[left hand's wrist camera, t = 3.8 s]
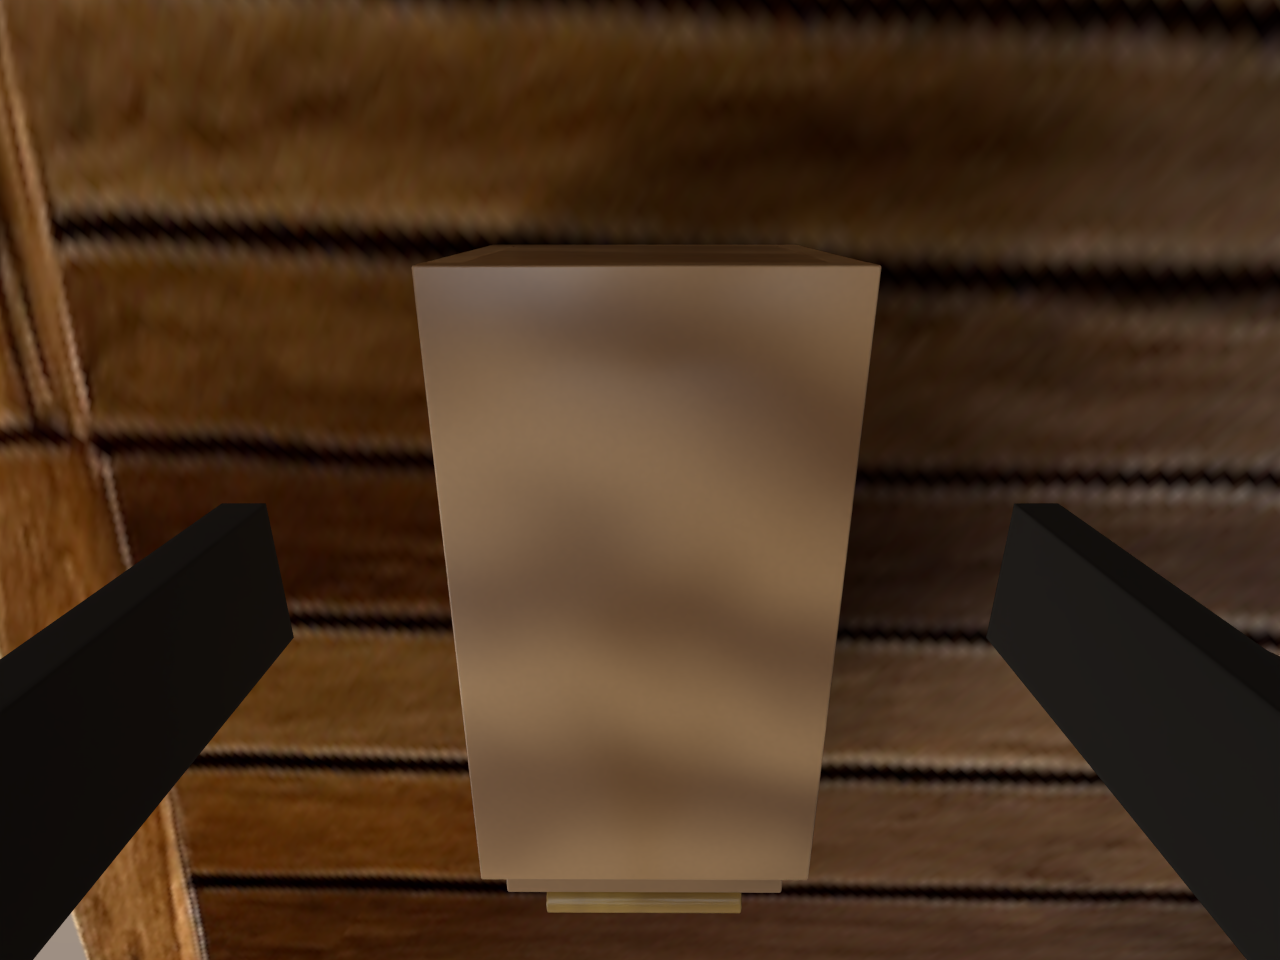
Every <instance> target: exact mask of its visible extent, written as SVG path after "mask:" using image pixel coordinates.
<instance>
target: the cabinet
mask: <svg viewBox="0 0 1280 960" xmlns="http://www.w3.org/2000/svg"><path fill="white" fill-rule="evenodd" d="M880 274H881V266H880V265H877V264H873V263H869V262H863V261H859V260H855V259H851V258H847V257H843V256H839V255H835V254H831V253H827V252H823V251H819V250H815V249H811V248H807V247H803V246H800V245H491V246H487V247H483V248H480V249H476V250H472V251H468V252H464V253H460V254H456V255H452V256H449V257H445V258H441V259H437V260H433V261H429V262H424V263H420V264H416V265H413V266H412V275H413V284H414V293H415V301H416V310H417V319H418V328H419V336H420V345H421V354H422V363H423V371H424V380H425V389H426V398H427V406H428V415H429V424H430V433H431V441H432V450H433V459H434V468H435V476H436V485H437V494H438V503H439V511H440V520H441V529H442V538H443V546H444V555H445V564H446V573H447V581H448V590H449V599H450V608H451V616H452V625H453V634H454V643H455V651H456V660H457V669H458V678H459V686H460V695H461V704H462V713H463V721H464V730H465V739H466V748H467V756H468V765H469V774H470V783H471V791H472V800H473V809H474V818H475V826H476V835H477V844H478V853H479V861H480V870H481V878H482V879H621V880H808V874H809V865H810V857H811V849H812V840H813V832H814V824H815V815H816V807H817V799H818V790H819V782H820V774H821V766H822V757H823V749H824V741H825V732H826V724H827V716H828V707H829V699H830V691H831V682H832V674H833V666H834V657H835V649H836V641H837V632H838V624H839V616H840V607H841V599H842V591H843V582H844V574H845V566H846V557H847V549H848V541H849V532H850V524H851V516H852V507H853V499H854V491H855V482H856V474H857V466H858V457H859V449H860V441H861V432H862V424H863V416H864V407H865V399H866V391H867V383H868V374H869V366H870V358H871V349H872V341H873V333H874V324H875V316H876V308H877V299H878V291H879V283H880Z"/></svg>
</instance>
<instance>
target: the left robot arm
mask: <svg viewBox="0 0 1280 960" xmlns="http://www.w3.org/2000/svg"><path fill="white" fill-rule="evenodd" d="M293 638H294V637H293V632H292V627H291V622H290V617H289V613H288V608H287V603H286V598H285V594H284V589H283V584H282V579H281V574H280V570H279V565H278V560H277V555H276V551H275V546H274V541H273V536H272V531H271V527H270V522H269V517H268V512H267V508H266V504H221V505H219V506H218V507H216V508H215V509H213V510H212V511H211V512H209V513H208V514H206V515H205V516H204V517H202V518H201V519H199V520H198V521H196V522H195V523H194V524H192V525H191V526H189V527H188V528H186V529H185V530H184V531H182V532H181V533H179V534H178V535H177V536H175V537H174V538H172V539H171V540H169V541H168V542H167V543H165V544H164V545H162V546H161V547H159V548H158V549H157V550H155V551H154V552H152V553H151V554H150V555H148V556H147V557H145V558H144V559H142V560H141V561H140V562H138V563H137V564H135V565H134V566H132V567H131V568H130V569H128V570H127V571H125V572H124V573H123V574H121V575H120V576H118V577H117V578H115V579H114V580H113V581H111V582H110V583H108V584H107V585H105V586H104V587H103V588H101V589H100V590H98V591H97V592H96V593H94V594H93V595H91V596H90V597H88V598H87V599H86V600H84V601H83V602H81V603H80V604H78V605H77V606H76V607H74V608H73V609H71V610H70V611H69V612H67V613H66V614H64V615H63V616H61V617H60V618H59V619H57V620H56V621H54V622H53V623H51V624H50V625H49V626H47V627H46V628H44V629H43V630H42V631H40V632H39V633H37V634H36V635H34V636H33V637H32V638H30V639H29V640H27V641H26V642H24V643H23V644H22V645H20V646H19V647H17V648H16V649H14V650H13V651H12V652H10V653H9V654H7V655H6V656H5V657H3V658H2V659H0V960H33V959H34V958H35V957H36V955H37V954H38V953H39V952H40V950H41V949H42V948H43V947H44V945H45V944H46V943H47V942H48V941H49V939H50V938H51V937H52V936H53V934H54V933H55V932H56V931H57V929H58V928H59V927H60V926H61V924H62V923H63V922H64V921H65V919H66V918H67V917H68V916H69V915H70V913H71V912H72V911H73V910H74V908H75V907H76V906H77V905H78V903H79V902H80V901H81V900H82V899H83V897H84V896H85V895H86V894H87V892H88V891H89V890H90V889H91V887H92V886H93V885H94V884H95V882H96V881H97V880H98V879H99V878H100V876H101V875H102V874H103V873H104V871H105V870H106V869H107V868H108V866H109V865H110V864H111V863H112V861H113V860H114V859H115V858H116V856H117V855H118V854H119V853H120V852H121V850H122V849H123V848H124V847H125V845H126V844H127V843H128V842H129V840H130V839H131V838H132V837H133V835H134V834H135V833H136V832H137V831H138V829H139V828H140V827H141V826H142V824H143V823H144V822H145V821H146V819H147V818H148V817H149V816H150V814H151V813H152V812H153V811H154V810H155V808H156V807H157V806H158V805H159V803H160V802H161V801H162V800H163V798H164V797H165V796H166V795H167V793H168V792H169V791H170V790H171V789H172V787H173V786H174V785H175V784H176V782H177V781H178V780H179V779H180V777H181V776H182V775H183V774H184V772H185V771H186V770H187V769H188V768H189V766H190V765H191V764H192V763H193V761H194V760H195V759H196V758H197V756H198V755H199V754H200V753H201V751H202V750H203V749H204V748H205V746H206V745H207V744H208V743H209V742H210V740H211V739H212V738H213V737H214V735H215V734H216V733H217V732H218V730H219V729H220V728H221V727H222V725H223V724H224V723H225V722H226V721H227V719H228V718H229V717H230V716H231V714H232V713H233V712H234V711H235V709H236V708H237V707H238V706H239V704H240V703H241V702H242V701H243V700H244V698H245V697H246V696H247V695H248V693H249V692H250V691H251V690H252V688H253V687H254V686H255V685H256V683H257V682H258V681H259V680H260V679H261V677H262V676H263V675H264V674H265V672H266V671H267V670H268V669H269V667H270V666H271V665H272V664H273V662H274V661H275V660H276V659H277V657H278V656H279V655H280V654H281V653H282V651H283V650H284V649H285V648H286V646H287V645H288V644H289V643H290V641H291V640H292V639H293ZM986 638H987V639H988V640H989V641H990V643H991V644H992V645H993V646H994V648H995V649H996V650H997V651H998V653H999V654H1000V655H1001V656H1002V657H1003V659H1004V660H1005V661H1006V662H1007V664H1008V665H1009V666H1010V667H1011V669H1012V670H1013V671H1014V672H1015V674H1016V675H1017V676H1018V677H1019V679H1020V680H1021V681H1022V682H1023V683H1024V685H1025V686H1026V687H1027V688H1028V690H1029V691H1030V692H1031V693H1032V695H1033V696H1034V697H1035V698H1036V700H1037V701H1038V702H1039V703H1040V704H1041V706H1042V707H1043V708H1044V709H1045V711H1046V712H1047V713H1048V714H1049V716H1050V717H1051V718H1052V719H1053V721H1054V722H1055V723H1056V724H1057V725H1058V727H1059V728H1060V729H1061V730H1062V732H1063V733H1064V734H1065V735H1066V737H1067V738H1068V739H1069V740H1070V742H1071V743H1072V744H1073V745H1074V746H1075V748H1076V749H1077V750H1078V751H1079V753H1080V754H1081V755H1082V756H1083V758H1084V759H1085V760H1086V761H1087V763H1088V764H1089V765H1090V766H1091V768H1092V769H1093V770H1094V771H1095V772H1096V774H1097V775H1098V776H1099V777H1100V779H1101V780H1102V781H1103V782H1104V784H1105V785H1106V786H1107V787H1108V789H1109V790H1110V791H1111V792H1112V793H1113V795H1114V796H1115V797H1116V798H1117V800H1118V801H1119V802H1120V803H1121V805H1122V806H1123V807H1124V808H1125V810H1126V811H1127V812H1128V813H1129V814H1130V816H1131V817H1132V818H1133V819H1134V821H1135V822H1136V823H1137V824H1138V826H1139V827H1140V828H1141V829H1142V831H1143V832H1144V833H1145V834H1146V835H1147V837H1148V838H1149V839H1150V840H1151V842H1152V843H1153V844H1154V845H1155V847H1156V848H1157V849H1158V850H1159V852H1160V853H1161V854H1162V855H1163V857H1164V858H1165V859H1166V860H1167V861H1168V863H1169V864H1170V865H1171V866H1172V868H1173V869H1174V870H1175V871H1176V873H1177V874H1178V875H1179V876H1180V878H1181V879H1182V880H1183V881H1184V882H1185V884H1186V885H1187V886H1188V887H1189V889H1190V890H1191V891H1192V892H1193V894H1194V895H1195V896H1196V897H1197V899H1198V900H1199V901H1200V902H1201V903H1202V905H1203V906H1204V907H1205V908H1206V910H1207V911H1208V912H1209V913H1210V915H1211V916H1212V917H1213V918H1214V920H1215V921H1216V922H1217V923H1218V924H1219V926H1220V927H1221V928H1222V929H1223V931H1224V932H1225V933H1226V934H1227V936H1228V937H1229V938H1230V939H1231V941H1232V942H1233V943H1234V944H1235V946H1236V947H1237V948H1238V949H1239V950H1240V952H1241V953H1242V954H1243V955H1244V957H1245V958H1246V959H1247V960H1280V656H1278V655H1276V654H1273V653H1271V652H1269V651H1267V650H1266V649H1264V648H1263V647H1261V646H1260V645H1258V644H1257V643H1256V642H1254V641H1253V640H1251V639H1250V638H1248V637H1247V636H1246V635H1244V634H1243V633H1241V632H1240V631H1238V630H1237V629H1236V628H1234V627H1233V626H1231V625H1230V624H1229V623H1227V622H1226V621H1224V620H1223V619H1221V618H1220V617H1219V616H1217V615H1216V614H1214V613H1213V612H1211V611H1210V610H1209V609H1207V608H1206V607H1204V606H1203V605H1202V604H1200V603H1199V602H1197V601H1196V600H1194V599H1193V598H1192V597H1190V596H1189V595H1187V594H1186V593H1184V592H1183V591H1182V590H1180V589H1179V588H1177V587H1176V586H1175V585H1173V584H1172V583H1170V582H1169V581H1167V580H1166V579H1165V578H1163V577H1162V576H1160V575H1159V574H1157V573H1156V572H1155V571H1153V570H1152V569H1150V568H1149V567H1148V566H1146V565H1145V564H1143V563H1142V562H1140V561H1139V560H1138V559H1136V558H1135V557H1133V556H1132V555H1130V554H1129V553H1128V552H1126V551H1125V550H1123V549H1122V548H1121V547H1119V546H1118V545H1116V544H1115V543H1113V542H1112V541H1111V540H1109V539H1108V538H1106V537H1105V536H1103V535H1102V534H1101V533H1099V532H1098V531H1096V530H1095V529H1094V528H1092V527H1091V526H1089V525H1088V524H1086V523H1085V522H1084V521H1082V520H1081V519H1079V518H1078V517H1076V516H1075V515H1074V514H1072V513H1071V512H1069V511H1068V510H1067V509H1065V508H1064V507H1062V506H1061V505H1059V504H1014V508H1013V512H1012V517H1011V522H1010V527H1009V531H1008V536H1007V541H1006V546H1005V551H1004V555H1003V560H1002V565H1001V570H1000V574H999V579H998V584H997V589H996V594H995V598H994V603H993V608H992V613H991V617H990V622H989V627H988V632H987V637H986Z"/></svg>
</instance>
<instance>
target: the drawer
mask: <svg viewBox="0 0 1280 960" xmlns="http://www.w3.org/2000/svg"><path fill="white" fill-rule="evenodd" d="M506 880H507V889H508V891H509V892H547V912H565V913H740V912H741V904H742V903H741V893H780V892H781V890H782V880H621V879H506Z"/></svg>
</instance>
